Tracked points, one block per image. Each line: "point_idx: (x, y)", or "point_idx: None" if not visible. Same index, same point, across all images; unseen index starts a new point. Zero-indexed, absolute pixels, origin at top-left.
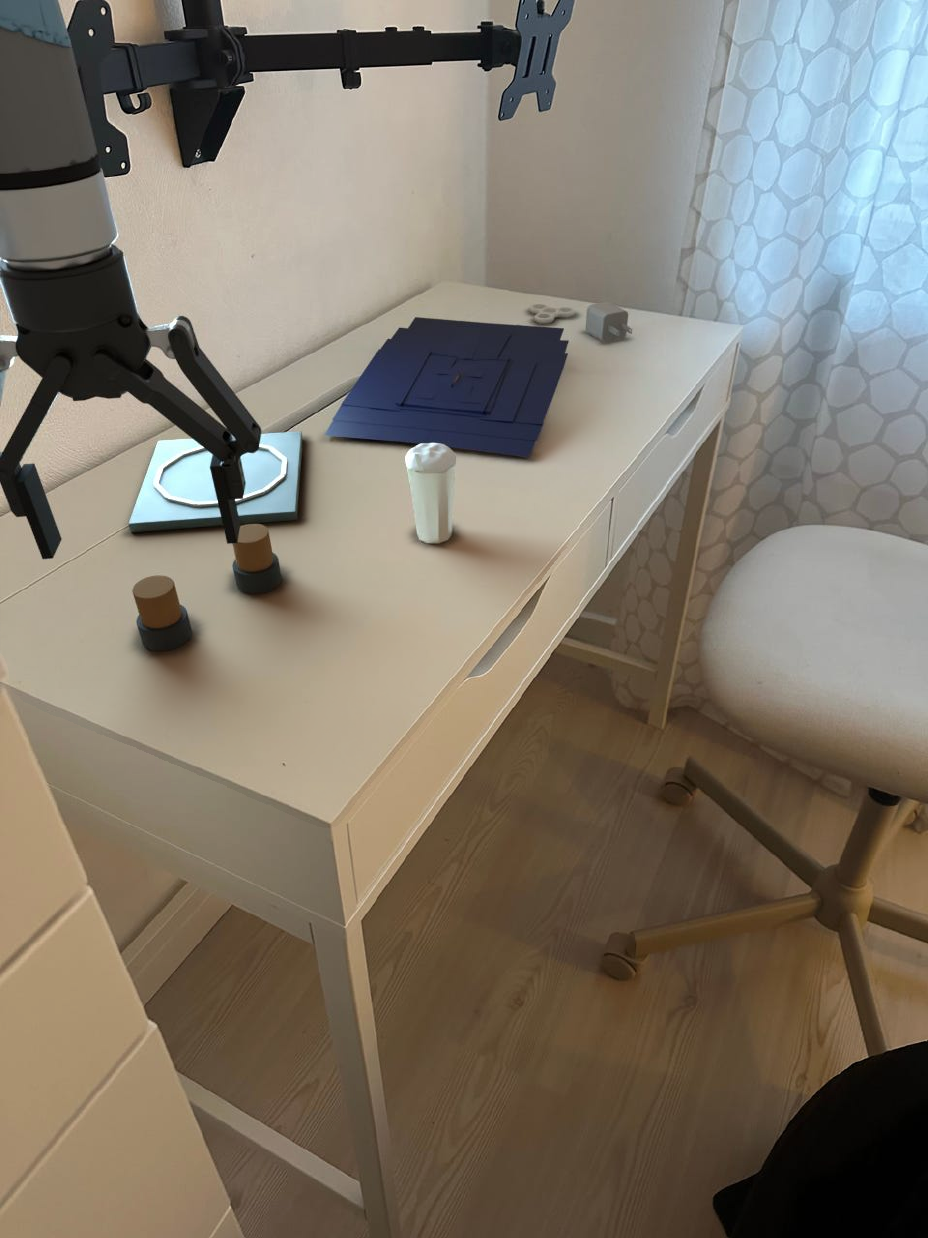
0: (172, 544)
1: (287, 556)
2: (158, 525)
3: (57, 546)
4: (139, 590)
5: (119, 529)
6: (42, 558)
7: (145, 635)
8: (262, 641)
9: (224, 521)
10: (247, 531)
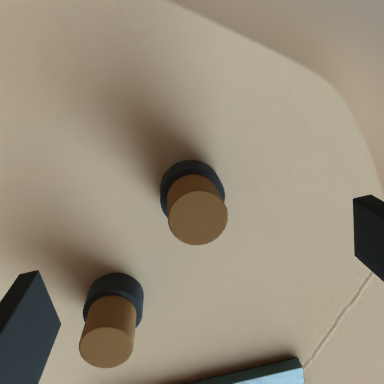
0: (243, 344)
1: None
2: (268, 370)
3: (355, 232)
4: (215, 208)
5: (312, 360)
6: (371, 195)
7: (204, 167)
8: (66, 189)
9: (14, 302)
10: (110, 350)
